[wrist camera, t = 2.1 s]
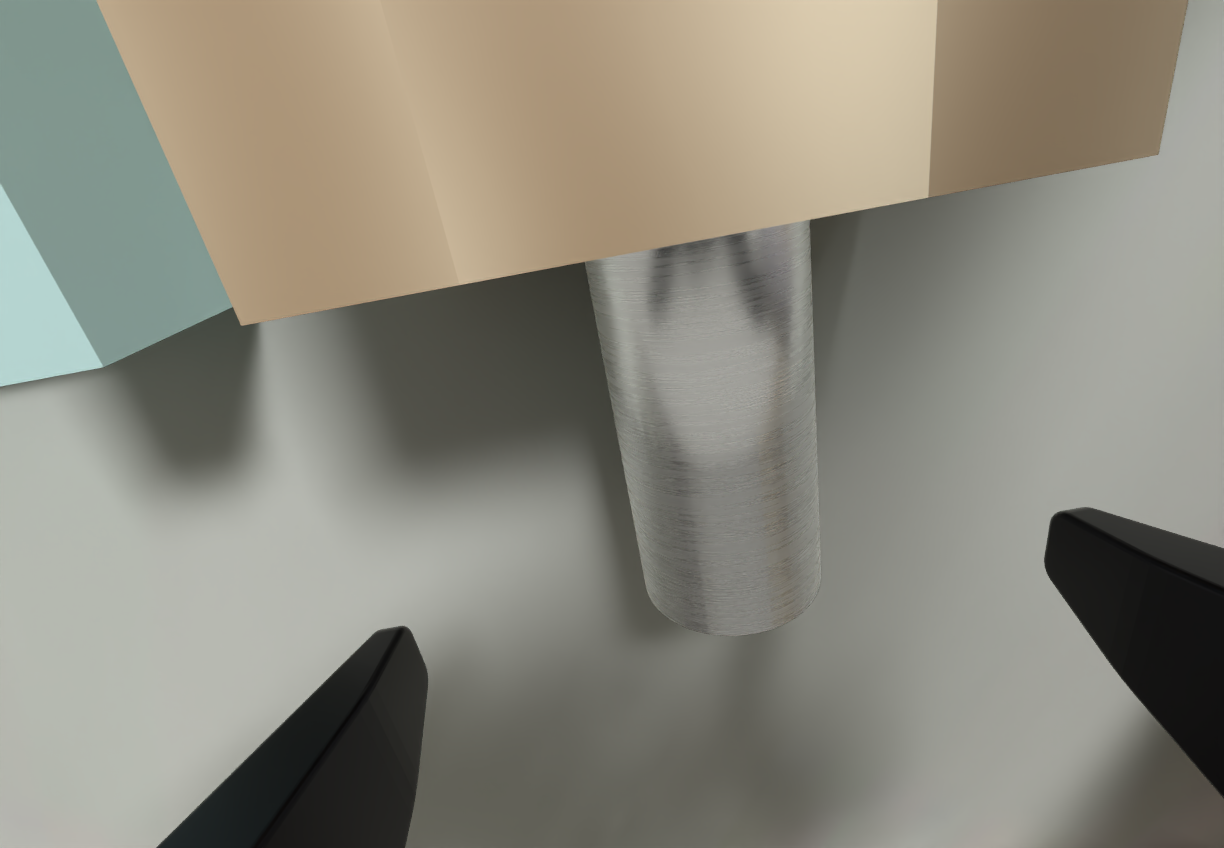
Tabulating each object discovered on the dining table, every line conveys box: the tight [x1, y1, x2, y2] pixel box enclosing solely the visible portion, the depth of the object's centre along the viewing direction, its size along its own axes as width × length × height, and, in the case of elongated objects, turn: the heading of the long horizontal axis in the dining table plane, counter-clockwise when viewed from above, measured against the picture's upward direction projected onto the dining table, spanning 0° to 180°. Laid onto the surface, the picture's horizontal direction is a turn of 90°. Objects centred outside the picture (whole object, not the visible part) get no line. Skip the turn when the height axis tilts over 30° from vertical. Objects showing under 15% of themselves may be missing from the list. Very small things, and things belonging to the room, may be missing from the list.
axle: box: [585, 220, 821, 636], centre depth 9 cm, size 16×3×3 cm, turn 10°
